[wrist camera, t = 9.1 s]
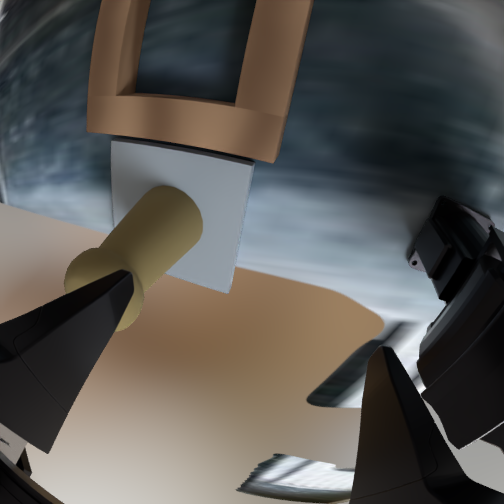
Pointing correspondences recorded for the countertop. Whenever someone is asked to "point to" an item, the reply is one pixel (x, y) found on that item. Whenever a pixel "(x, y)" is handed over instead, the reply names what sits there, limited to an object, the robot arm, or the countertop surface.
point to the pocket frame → (191, 108)
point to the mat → (197, 188)
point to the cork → (142, 245)
